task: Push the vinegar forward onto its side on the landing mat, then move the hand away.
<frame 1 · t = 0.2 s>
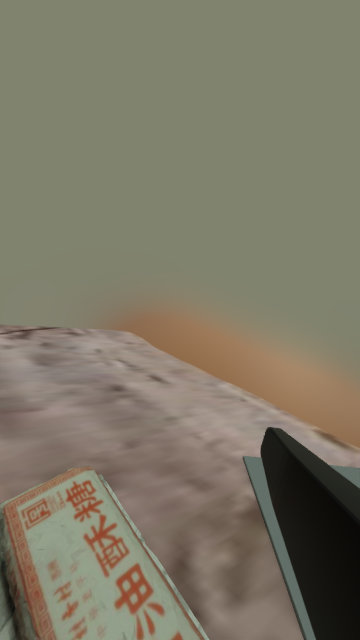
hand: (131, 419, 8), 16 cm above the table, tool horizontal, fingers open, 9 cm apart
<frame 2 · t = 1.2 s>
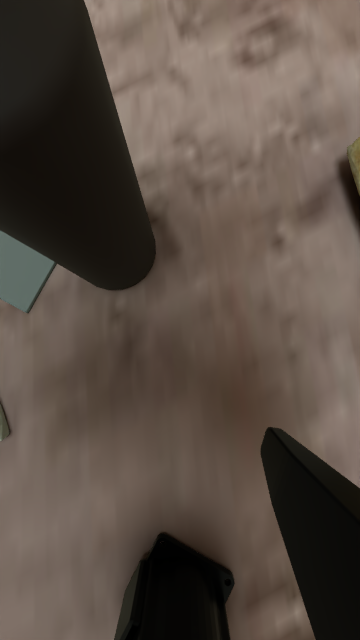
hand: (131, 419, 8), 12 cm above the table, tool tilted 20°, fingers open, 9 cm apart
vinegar: (117, 252, 21), on the table
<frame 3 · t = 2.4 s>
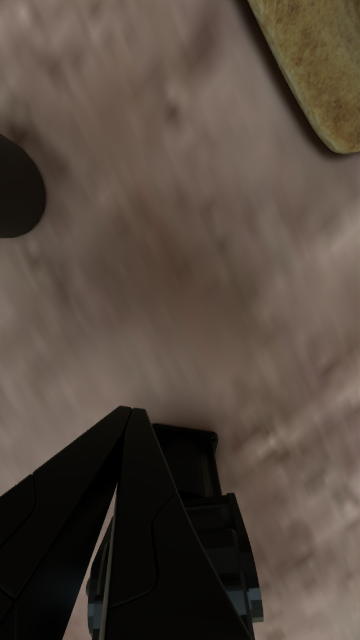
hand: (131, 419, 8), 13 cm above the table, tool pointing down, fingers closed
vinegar: (2, 191, 18), on the table
olive-brown rounded piece: (344, 24, 16), on the table
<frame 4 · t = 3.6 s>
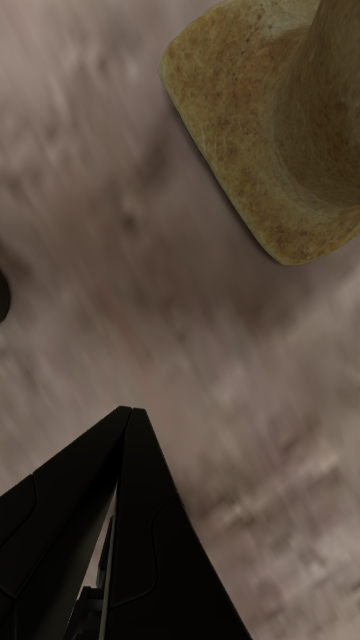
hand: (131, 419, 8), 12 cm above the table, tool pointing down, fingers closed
olive-brown rounded piece: (290, 144, 17), on the table
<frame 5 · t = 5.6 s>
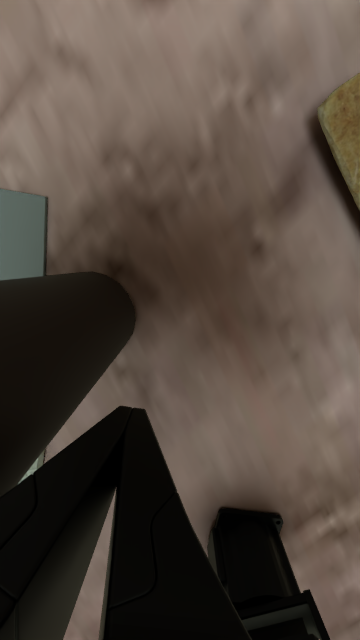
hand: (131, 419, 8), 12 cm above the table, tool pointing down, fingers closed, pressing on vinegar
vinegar: (95, 314, 19), on the table, touching gripper
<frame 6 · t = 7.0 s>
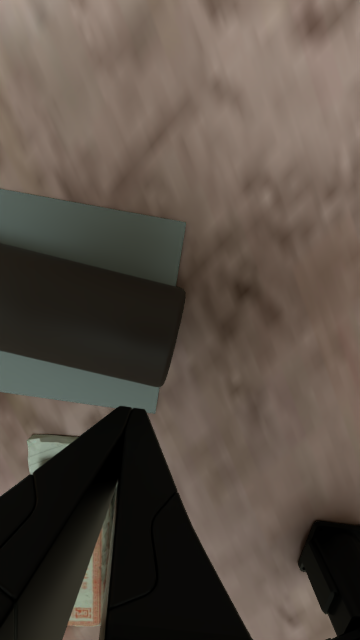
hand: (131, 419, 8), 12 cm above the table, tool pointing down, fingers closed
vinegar: (177, 339, 16), point 3 cm above the table, touching landing mat
landing mat: (44, 306, 19), on the table
packaged product: (88, 505, 25), on the table
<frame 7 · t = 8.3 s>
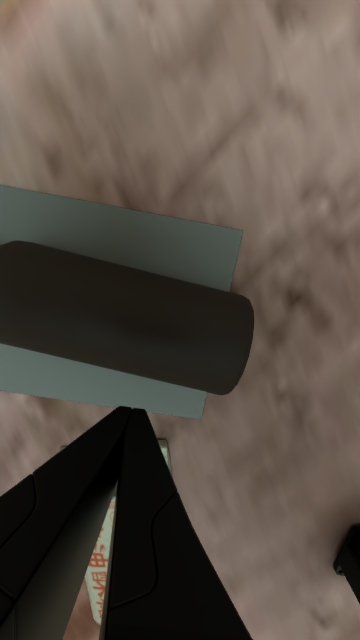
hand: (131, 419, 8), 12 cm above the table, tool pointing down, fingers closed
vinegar: (238, 346, 16), point 3 cm above the table, touching landing mat
landing mat: (96, 313, 19), on the table
packaged product: (128, 509, 25), on the table
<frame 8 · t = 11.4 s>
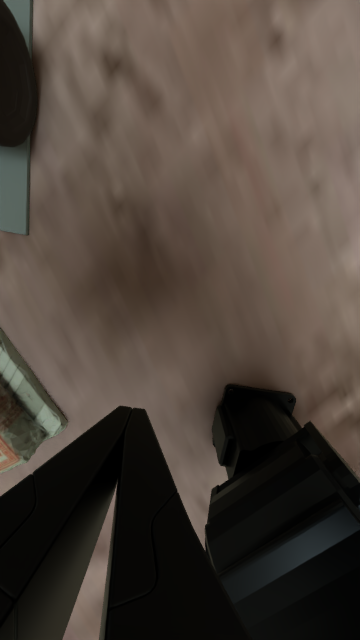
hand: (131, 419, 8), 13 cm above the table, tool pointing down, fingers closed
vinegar: (7, 77, 13), point 3 cm above the table, touching landing mat
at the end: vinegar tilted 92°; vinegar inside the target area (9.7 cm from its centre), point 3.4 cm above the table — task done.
